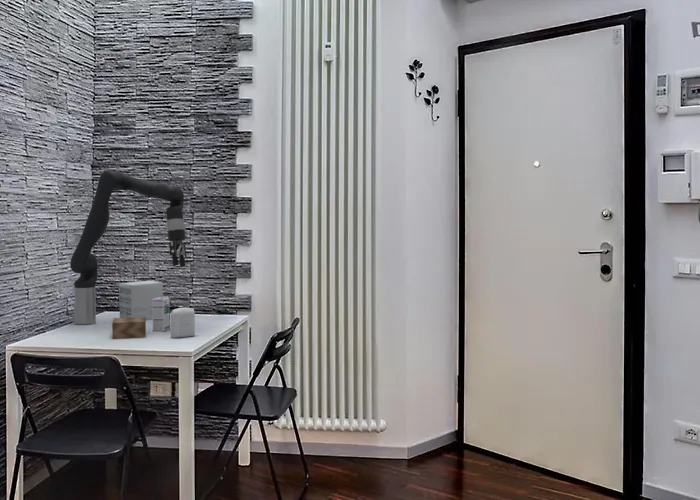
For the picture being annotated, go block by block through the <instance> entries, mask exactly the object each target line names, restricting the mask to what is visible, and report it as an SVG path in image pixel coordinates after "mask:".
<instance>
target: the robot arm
mask: <svg viewBox="0 0 700 500" xmlns="http://www.w3.org/2000/svg"><path fill="white" fill-rule="evenodd" d="M113 191H115V192H116V191H129V192H130V191H131V192H134V193H137V194H140V195H142V196H146V197H149V198H155V199H160V200H164V201H168V202H169V206H168V207H167V208H166V228H167V229H166V230H167V239H168V242H169V243H168V245H169V256H171V258H172V265H173V266H176V267H177V266H179V267H181V268H183V267H186V257H187V249H186V244H185V243H183V241H185V240H186V229H185V222H184V215H183V213H184V212H183V209H184V208H183V207H184V203H185V202H184V201H185V195H184V192H183V190H182V188H180V187H178V186H174V185H171V184H168V183H160V182H158V181H152V180H148V179H141V178H136V177H134V176H131V175H129V174H126V173H124V172H121V171H119V170H112V169H110V170H109V169H108V170H105V171H103V172H102V173H101V174H100V176H99V179H98V183H97V187H96V190H95V194H94V199H93V202H92V205H91V208H90V210H89V213H88V215H87V219H86V221H85V225H84V229H83V230H82V233H81V236H80V238H79V242H78V243H77V245H76V247H75V249H74V252H73V254H72V256H71V258H70V263H69V264H70V269H71V271H72V272H73V273H75V274H80V276H79V277H78V278H77V279H76V280H75V281H74V283H73V285H74V287H73V288H74V304H73V320H74V321H73V322H74V323H73V324H74V325H93V324H96V323H97V315H96V314H97V311H96V307H97V306H96V305H97V304H96V303H97V302H96V298H97V297H96V283H97V280H98V260H97V257H96V255H94V253H92V249H93V248H94V246H95V245H96V244H97V242H98V241H99V240H100V239H101V238H102V237H103V236H104V233H105V232H106V230H107V227H108V225H109V221H110V207H109V203H110V198H111V197H112V193H113Z"/></svg>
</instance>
